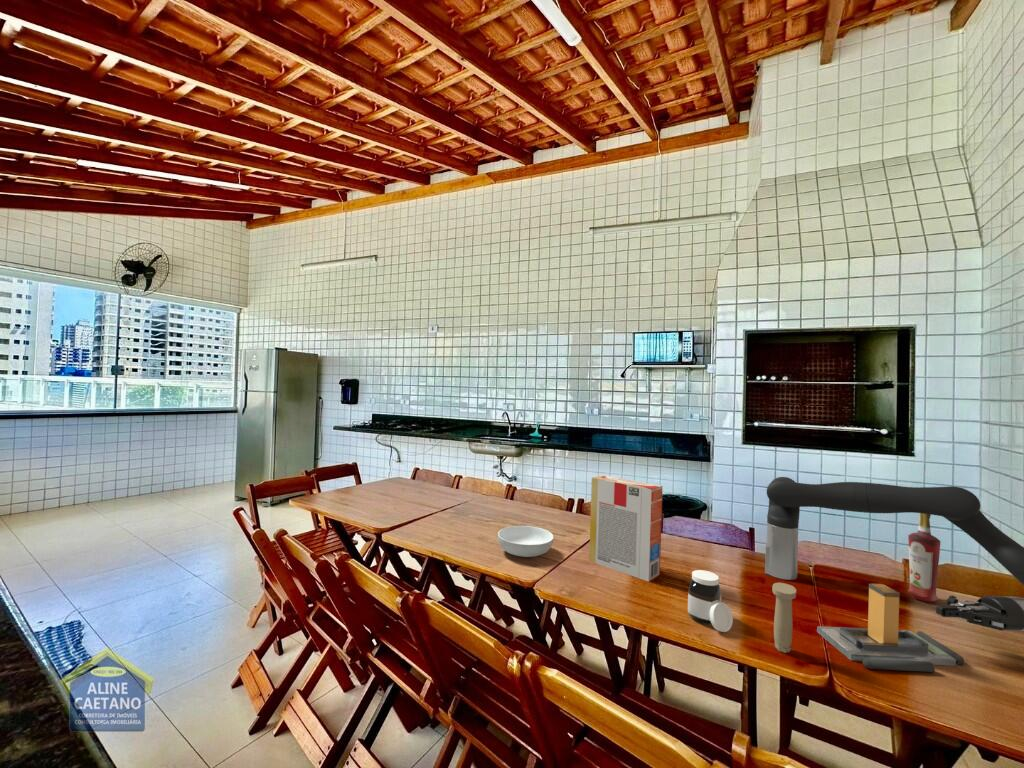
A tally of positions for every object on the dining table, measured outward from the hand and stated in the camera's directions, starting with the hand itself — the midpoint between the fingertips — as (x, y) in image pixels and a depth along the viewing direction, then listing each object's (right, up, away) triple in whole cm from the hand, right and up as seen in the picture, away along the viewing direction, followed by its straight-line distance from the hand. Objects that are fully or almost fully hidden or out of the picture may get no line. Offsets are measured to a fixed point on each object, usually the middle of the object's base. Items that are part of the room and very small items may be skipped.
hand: (938, 610), depth 108 cm
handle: (-40, -9, -2) cm, 41 cm away
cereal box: (-67, -8, +45) cm, 81 cm away
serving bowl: (-101, -7, +56) cm, 115 cm away
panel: (-14, -9, +1) cm, 17 cm away
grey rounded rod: (-17, -9, -8) cm, 21 cm away
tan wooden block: (-14, -8, 0) cm, 16 cm away
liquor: (+22, -11, +28) cm, 37 cm away
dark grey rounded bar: (0, -10, 0) cm, 10 cm away
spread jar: (-52, -9, +11) cm, 54 cm away
